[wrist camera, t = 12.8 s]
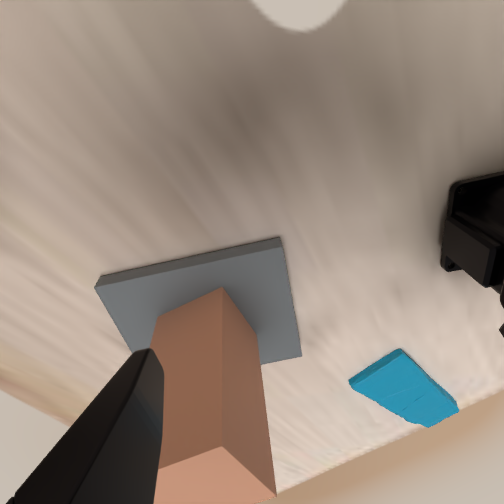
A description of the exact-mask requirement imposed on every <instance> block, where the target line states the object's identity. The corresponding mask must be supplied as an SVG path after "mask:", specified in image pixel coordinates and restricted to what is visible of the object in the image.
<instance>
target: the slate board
mask: <svg viewBox="0 0 504 504" xmlns="http://www.w3.org/2000/svg"><path fill="white" fill-rule="evenodd" d="M221 287H223V288H224V290H225V291H226V293H227V294H228V295H229V297H230V298H231V300H232V301H233V302H234V304H235V305H236V307H237V308H238V309H239V311H240V312H241V314H242V315H243V316H244V318H245V319H246V321H247V322H248V323H249V325H250V326H251V328H252V329H253V330H254V332H255V333H256V335H257V341H258V349H259V357H260V365H262V364H267V363H272V362H277V361H282V360H287V359H292V358H297V357H301V356H302V352H301V346H300V341H299V335H298V329H297V324H296V318H295V313H294V307H293V302H292V296H291V290H290V285H289V279H288V274H287V268H286V262H285V257H284V251H283V246H282V243H281V240H280V237H279V238H274V239H270V240H265V241H261V242H256V243H252V244H247V245H242V246H238V247H233V248H229V249H224V250H220V251H215V252H210V253H206V254H201V255H197V256H192V257H188V258H183V259H178V260H174V261H169V262H165V263H160V264H155V265H151V266H146V267H142V268H137V269H133V270H128V271H123V272H119V273H114V274H110V275H105V276H101V277H100V278H99V280H98V281H97V283H96V285H95V287H94V289H95V290H96V292H97V294H98V295H99V297H100V299H101V301H102V302H103V304H104V306H105V307H106V309H107V311H108V313H109V314H110V316H111V318H112V319H113V321H114V323H115V325H116V326H117V328H118V330H119V331H120V333H121V335H122V337H123V338H124V340H125V342H126V343H127V345H128V347H129V349H130V350H131V352H132V354H133V353H134V352H135V351H137V350H141V349H145V348H150V344H151V340H152V336H153V332H154V328H155V325H156V321H157V317H158V316H161V315H163V314H165V313H167V312H169V311H171V310H173V309H176V308H178V307H180V306H182V305H184V304H186V303H188V302H191V301H193V300H195V299H197V298H199V297H201V296H203V295H206V294H208V293H210V292H212V291H214V290H216V289H218V288H221Z"/></svg>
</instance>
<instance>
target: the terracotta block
mask: <svg viewBox="0 0 504 504" xmlns="http://www.w3.org/2000/svg"><path fill="white" fill-rule="evenodd" d="M150 348H151V349H153V351H154V352H155V354H156V356H157V358H158V360H159V362H160V363H161V365H162V367H163V370H164V410H163V435H162V445H161V453H160V460H159V467H158V475H157V482H156V489H155V496H154V504H256V503H259V502H262V501H265V500H268V499H271V498H274V497H277V493H276V485H275V477H274V469H273V461H272V453H271V445H270V437H269V429H268V421H267V413H266V405H265V397H264V389H263V381H262V373H261V365H260V357H259V349H258V341H257V335H256V333H255V332H254V330H253V329H252V328H251V326H250V325H249V323H248V322H247V321H246V319H245V318H244V316H243V315H242V314H241V312H240V311H239V309H238V308H237V307H236V305H235V304H234V302H233V301H232V300H231V298H230V297H229V295H228V294H227V293H226V291H225V290H224V288H223V287H221V288H218V289H216V290H214V291H212V292H210V293H208V294H206V295H203V296H201V297H199V298H197V299H195V300H193V301H191V302H188V303H186V304H184V305H182V306H180V307H178V308H176V309H173V310H171V311H169V312H167V313H165V314H163V315H161V316H158V317H157V321H156V325H155V328H154V332H153V336H152V340H151V344H150Z"/></svg>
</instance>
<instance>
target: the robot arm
mask: <svg viewBox="0 0 504 504" xmlns="http://www.w3.org/2000/svg"><path fill="white" fill-rule="evenodd" d="M462 187H463V188H462ZM461 188H462V190H461V191H460V192H459V190H460V189H461ZM458 192H459V193H458ZM450 263H451V264H450ZM449 264H450V265H449ZM441 267H442V268H443V269H444V270H445V271H447V272H451V271H456V270H461V269H463V270H464V271H465V272H466V273H468V274H469V275H470V276H471V277H472V278H473V279H475V280H476V281H477V282H478V283H479V284H481V285H482V286H483V287H485V288H488V287H491V288H493V289H494V290H495V291H496V292H498V293H499V294H500V302H501V305H502V307H503V308H504V172H499V173H494V174H490V175H485V176H481V177H476V178H472V179H467V180H463V181H459V182H456V183H455V184H454V185H453V186H452V187H451V190H450V196H449V204H448V212H447V218H446V220H445V228H444V236H443V244H442V260H441ZM499 331H500V332H501V334H502V335H503V337H504V324H503V325H502V326H501V327H500V329H499ZM163 410H164V370H163V367H162V365H161V363H160V362H159V360H158V358H157V356H156V354H155V352H154V351H153V349H151V348H145V349H141V350H137V351H135V352H134V353H133V354H132V355H131V356H130V357H129V358H128V359H127V361H126V362H125V363H124V364H123V365H122V367H121V368H120V369H119V370H118V371H117V372H116V374H115V375H114V376H113V377H112V378H111V380H110V381H109V382H108V383H107V384H106V386H105V387H104V388H103V389H102V390H101V391H100V393H99V394H98V395H97V396H96V397H95V399H94V400H93V401H92V402H91V403H90V405H89V406H88V407H87V408H86V409H85V410H84V412H83V413H82V414H81V415H80V416H79V418H78V419H77V420H76V421H75V422H74V423H73V425H72V426H71V427H70V428H69V430H68V431H67V432H66V433H65V434H64V435H63V437H62V438H61V439H60V440H59V441H58V442H57V444H56V445H55V446H54V447H53V449H52V450H51V451H50V452H49V453H48V454H47V456H46V457H45V458H44V459H43V460H42V461H41V463H40V464H39V465H38V466H37V467H36V469H35V470H34V471H33V472H32V473H31V475H30V476H29V477H28V478H27V479H26V481H25V482H24V483H23V484H22V485H21V487H20V488H19V489H18V490H17V491H16V493H15V496H14V497H11V498H10V499H9V500H8V502H7V503H6V504H154V496H155V489H156V482H157V475H158V467H159V460H160V453H161V445H162V435H163Z"/></svg>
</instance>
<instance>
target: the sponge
mask: <svg viewBox="0 0 504 504" xmlns="http://www.w3.org/2000/svg"><path fill="white" fill-rule="evenodd" d="M349 384H350V385H351V388H352V389H353V390H355V391H357V392H359V393H361V394H364V395H365V396H366V397H368V398H370V399H372V400H373V401H376V402H377V403H378V404H379V405H381V406H383V407H385V408H386V409H388V410H389V411H391V412H393V413H395V414H396V415H399V416H400V417H403V418H404V419H405V420H406V421H408V422H411V423H415V424H421V425H423V426H426V427H428V428H429V427H431V426H433V425H435V424H437V423H438V422H441V421H442V420H443V419H445V418H447V417H450V416H451V415H453V414H455V413H458V412H459V409H458V407H457V403H456V401H455V400H454V399H453V397H452V396H451V395H450V394H449V393H448V392H447V391H445V390H444V389H443V388H442V387H441V386H440V385H438V384H437V383H436V382H435V381H434V380H433V379H431V378H430V377H429V376H428V375H427V374H426V373H425V372H424V371H423V370H422V369H421V368H420V367H419V366H418V365H417V364H416V363H415V362H414V361H413V360H412V359H411V358H409V357H408V356H407V355H406V354H405V353H404V352H403V351H402V350H401V349H397V350H395V351H393V352H391V353H390V354H388V355H386V356H385V357H383V358H382V359H380V360H378V361H377V362H375V363H374V364H372V365H371V366H369V367H367V368H366V369H364V370H363V371H361V372H360V373H358V374H357V375H355V376H354V377H352V378H351V379H349Z"/></svg>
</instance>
